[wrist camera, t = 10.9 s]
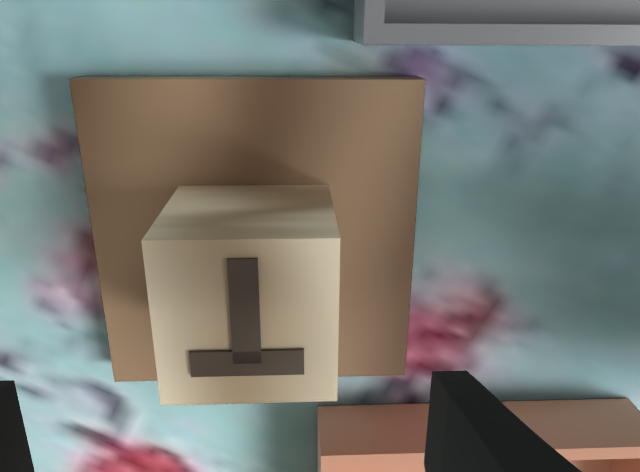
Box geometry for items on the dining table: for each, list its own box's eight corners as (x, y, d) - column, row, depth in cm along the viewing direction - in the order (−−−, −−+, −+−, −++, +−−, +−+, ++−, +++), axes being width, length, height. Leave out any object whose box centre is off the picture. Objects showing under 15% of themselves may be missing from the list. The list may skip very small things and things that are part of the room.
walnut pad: (418, 76, 17) (425, 79, 16) (399, 358, 21) (404, 375, 20) (81, 75, 17) (69, 79, 16) (122, 364, 20) (114, 381, 19)
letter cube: (328, 184, 17) (340, 239, 13) (327, 315, 19) (337, 403, 14) (179, 186, 17) (140, 242, 13) (190, 317, 18) (159, 407, 14)
